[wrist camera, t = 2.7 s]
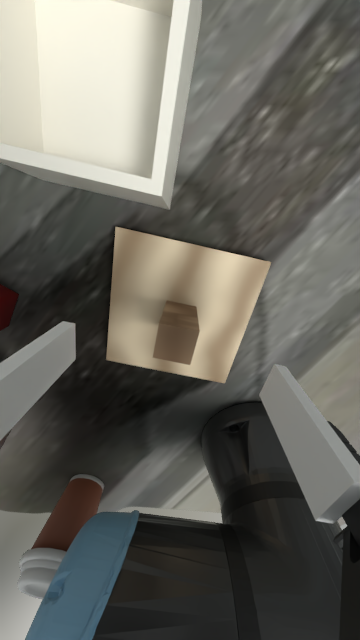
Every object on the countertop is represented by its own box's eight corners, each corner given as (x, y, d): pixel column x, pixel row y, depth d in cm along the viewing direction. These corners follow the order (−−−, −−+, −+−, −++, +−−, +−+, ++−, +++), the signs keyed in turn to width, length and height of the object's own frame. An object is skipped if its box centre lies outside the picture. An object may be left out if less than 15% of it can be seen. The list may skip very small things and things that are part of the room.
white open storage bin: (201, 19, 14) (209, -134, 8) (169, 209, 18) (161, 196, 13) (29, -29, 13) (-89, -228, 7) (42, 180, 18) (-25, 152, 12)
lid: (263, 260, 20) (307, 272, 13) (222, 373, 26) (235, 426, 18) (122, 227, 19) (82, 220, 12) (112, 351, 25) (80, 397, 18)
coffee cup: (120, 487, 36) (91, 595, 25) (90, 502, 39) (51, 607, 28) (83, 463, 34) (32, 571, 23) (53, 481, 36) (-6, 586, 25)
